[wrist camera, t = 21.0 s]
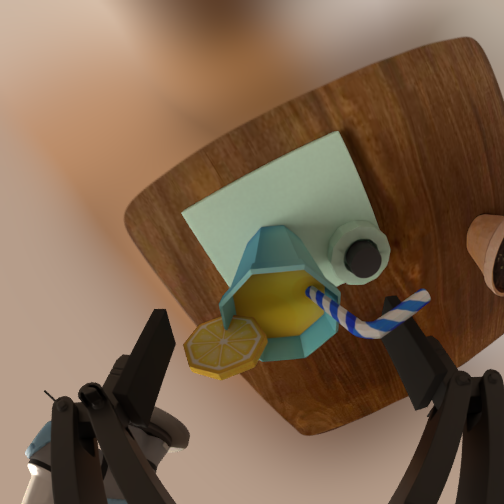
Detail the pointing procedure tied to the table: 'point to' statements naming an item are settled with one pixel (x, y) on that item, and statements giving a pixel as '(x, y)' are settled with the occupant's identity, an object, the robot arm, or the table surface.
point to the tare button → (363, 259)
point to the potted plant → (488, 249)
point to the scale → (293, 210)
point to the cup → (279, 310)
